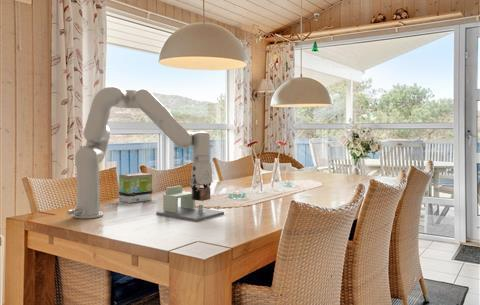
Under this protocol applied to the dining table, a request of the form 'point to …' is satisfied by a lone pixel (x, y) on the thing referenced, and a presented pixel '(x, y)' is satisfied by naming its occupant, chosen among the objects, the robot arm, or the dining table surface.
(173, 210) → the cover
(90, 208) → the robot arm
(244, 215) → the dining table surface
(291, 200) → the dining table surface
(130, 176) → the tea box
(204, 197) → the wooden crate
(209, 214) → the board
